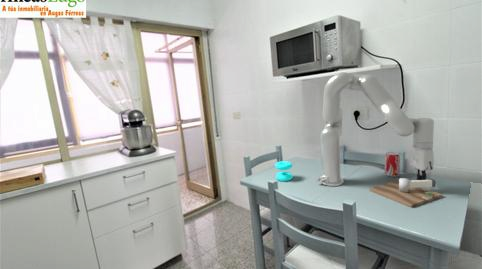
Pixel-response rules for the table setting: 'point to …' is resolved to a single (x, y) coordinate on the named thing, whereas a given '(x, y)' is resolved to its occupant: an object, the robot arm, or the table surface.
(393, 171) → the soda can
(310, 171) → the table surface
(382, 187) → the brown wooden cutting board
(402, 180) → the white elongated piece
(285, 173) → the donuts
